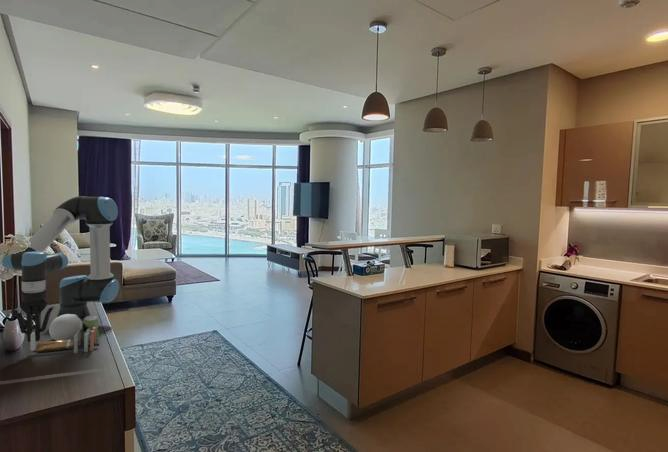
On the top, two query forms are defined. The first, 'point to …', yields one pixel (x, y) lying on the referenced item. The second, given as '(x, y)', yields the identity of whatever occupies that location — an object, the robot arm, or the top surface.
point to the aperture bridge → (93, 338)
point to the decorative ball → (65, 327)
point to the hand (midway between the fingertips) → (33, 349)
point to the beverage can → (91, 325)
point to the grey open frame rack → (62, 351)
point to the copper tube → (55, 346)
